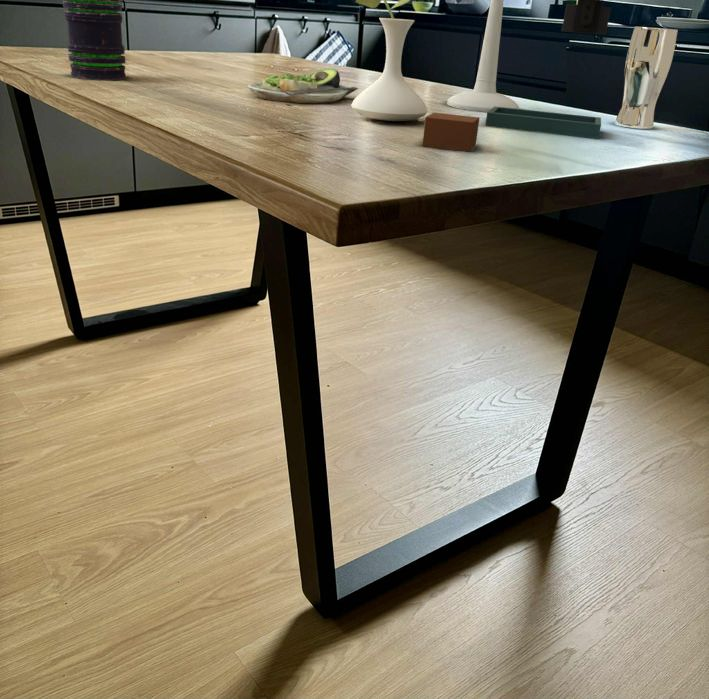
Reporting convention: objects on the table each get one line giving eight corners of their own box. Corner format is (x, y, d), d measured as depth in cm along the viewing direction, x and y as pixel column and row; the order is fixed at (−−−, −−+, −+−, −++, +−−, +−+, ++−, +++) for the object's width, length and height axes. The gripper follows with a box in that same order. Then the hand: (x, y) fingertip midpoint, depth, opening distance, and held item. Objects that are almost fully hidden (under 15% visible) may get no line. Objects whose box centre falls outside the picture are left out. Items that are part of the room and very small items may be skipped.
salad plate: (338, 109, 114) (339, 78, 112) (231, 99, 116) (231, 68, 114) (361, 97, 131) (363, 70, 129) (268, 88, 134) (268, 61, 132)
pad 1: (475, 145, 92) (479, 117, 91) (469, 151, 88) (473, 122, 87) (430, 140, 94) (433, 112, 92) (422, 146, 89) (425, 116, 88)
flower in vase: (439, 121, 109) (461, -67, 98) (401, 129, 100) (420, -77, 90) (368, 110, 115) (381, -68, 104) (326, 116, 107) (335, -78, 96)
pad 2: (605, 34, 104) (610, 7, 102) (605, 35, 99) (611, 7, 98) (562, 30, 105) (567, 4, 104) (561, 31, 101) (566, 4, 99)
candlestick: (444, 108, 125) (468, -93, 112) (449, 99, 136) (470, -84, 123) (519, 114, 123) (551, -89, 110) (517, 106, 134) (546, -79, 121)
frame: (598, 130, 112) (601, 117, 111) (598, 138, 105) (601, 124, 104) (492, 119, 116) (494, 106, 115) (485, 126, 108) (487, 112, 108)
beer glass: (656, 131, 116) (680, 30, 109) (611, 126, 118) (633, 26, 111) (654, 125, 122) (677, 29, 115) (612, 121, 124) (632, 26, 117)
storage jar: (83, 80, 126) (74, -15, 119) (61, 73, 132) (51, -17, 126) (136, 79, 132) (130, -11, 125) (113, 73, 138) (106, -13, 132)
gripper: (647, -130, 86) (612, 34, 94) (639, -109, 101) (610, 32, 109) (583, -132, 88) (554, 30, 96) (584, -111, 102) (559, 28, 110)
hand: (584, 29), depth 102 cm, fingers closed on pad 2, 5 cm apart
